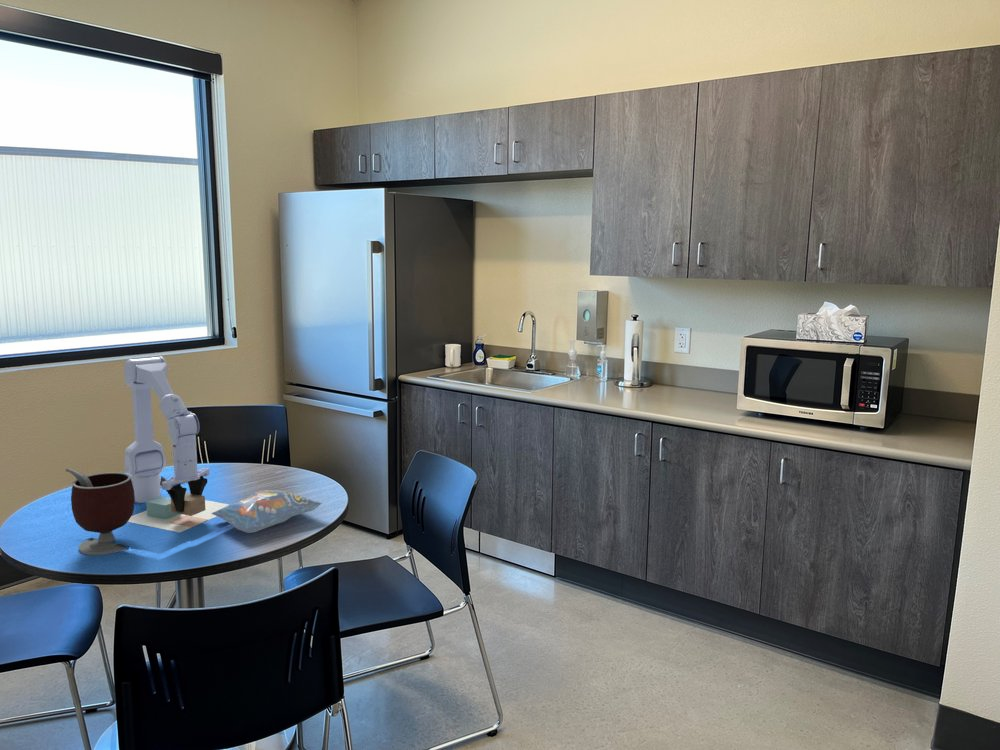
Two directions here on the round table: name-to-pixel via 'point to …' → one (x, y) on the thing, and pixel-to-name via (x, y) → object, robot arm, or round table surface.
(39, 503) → the round table surface
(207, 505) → the baseplate
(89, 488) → the mate gourd
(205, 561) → the round table surface
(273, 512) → the packet
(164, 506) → the teal block
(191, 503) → the walnut block
